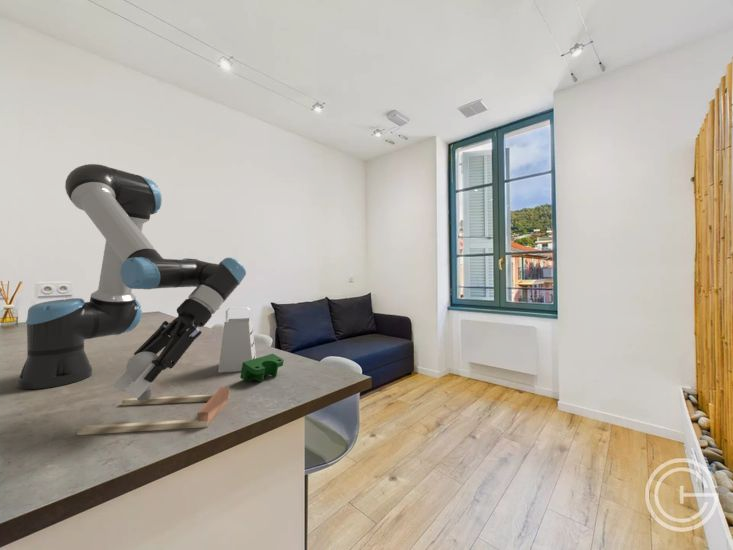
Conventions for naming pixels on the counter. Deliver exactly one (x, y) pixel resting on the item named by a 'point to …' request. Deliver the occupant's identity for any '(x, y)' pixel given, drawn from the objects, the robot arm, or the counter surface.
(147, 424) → the guide
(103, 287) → the robot arm
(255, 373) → the clamp
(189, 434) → the counter surface
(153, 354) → the lightbulb
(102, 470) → the counter surface
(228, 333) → the grater
